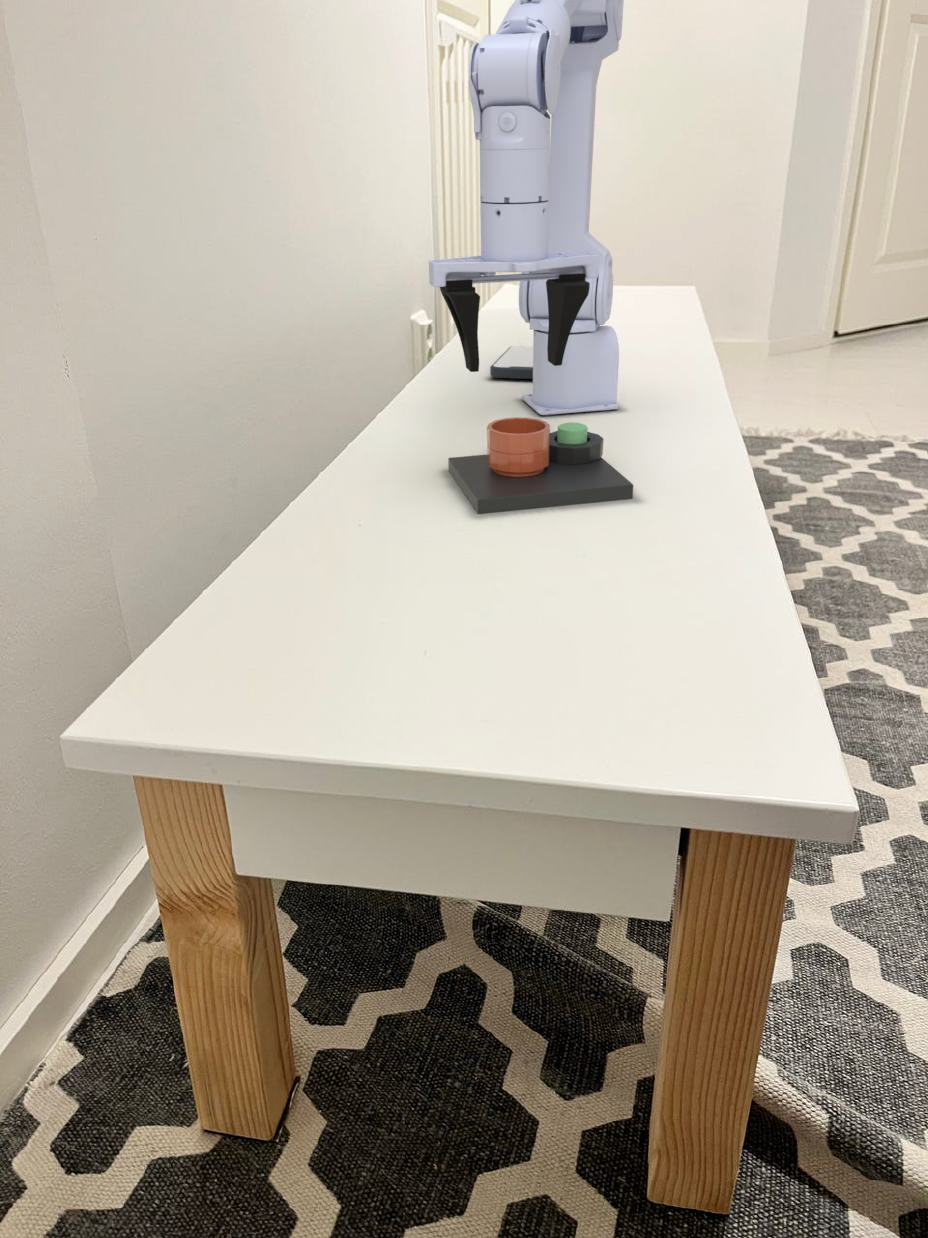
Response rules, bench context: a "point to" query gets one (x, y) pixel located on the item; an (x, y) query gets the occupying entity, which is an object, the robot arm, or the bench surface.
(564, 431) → the button
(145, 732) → the bench surface
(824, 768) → the bench surface
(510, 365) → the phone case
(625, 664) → the bench surface
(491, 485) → the scale
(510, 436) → the bowl
